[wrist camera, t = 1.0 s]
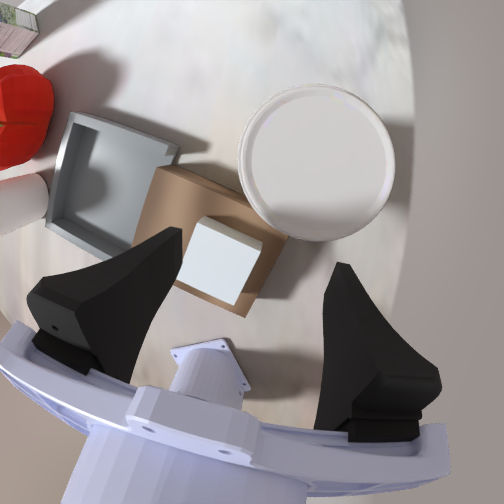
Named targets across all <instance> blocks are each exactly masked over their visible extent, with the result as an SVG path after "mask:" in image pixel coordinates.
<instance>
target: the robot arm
mask: <svg viewBox="0 0 504 504" xmlns="http://www.w3.org/2000/svg"><path fill="white" fill-rule="evenodd" d="M182 264H183V249H182V228H177V227H172V226H170V227H168V228H166V229H164V230H162V231H161V232H159V233H157V234H156V235H154V236H152V237H150V238H149V239H147V240H145V241H144V242H142V243H140V244H138V245H136V246H135V247H133V248H131V249H129V250H127V251H125V252H123V253H121V254H119V255H117V256H115V257H113V258H110V259H108V260H106V261H103V262H101V263H98V264H95V265H92V266H89V267H86V268H83V269H80V270H76V271H72V272H68V273H64V274H59V275H53V276H47V277H43V278H42V279H41V280H40V281H39V282H38V283H37V285H36V286H35V287H34V288H33V289H32V290H31V291H30V293H29V294H28V295H27V304H28V307H29V309H30V311H31V313H32V315H33V317H34V319H35V320H36V322H37V324H38V326H39V328H40V329H39V331H38V332H37V333H36V332H35V331H34V330H33V329H31V328H30V327H28V326H27V325H25V324H23V323H22V322H20V321H18V320H17V321H16V322H15V323H14V325H13V326H12V327H11V329H10V330H9V331H8V333H7V334H6V336H5V337H4V338H3V340H2V341H1V343H0V371H1V372H2V373H3V374H4V376H5V377H6V378H7V379H8V380H9V381H10V382H11V383H12V384H13V385H14V386H15V387H16V388H17V389H18V390H20V391H21V392H22V393H24V394H25V395H27V396H28V397H29V398H30V399H32V400H33V401H35V402H36V403H37V404H39V405H40V406H41V407H43V408H44V409H46V410H47V411H49V412H50V413H52V414H53V415H54V416H56V417H58V418H59V419H60V420H62V421H64V422H65V423H67V424H68V425H70V426H71V427H73V428H75V429H77V430H78V431H80V432H81V433H83V434H85V435H87V436H88V438H87V440H86V443H85V445H84V447H83V449H82V452H81V454H80V457H79V459H78V461H77V463H76V466H75V468H74V471H73V473H72V475H71V478H70V480H69V483H68V486H67V488H66V491H65V493H64V496H63V498H62V501H61V504H306V498H307V497H337V496H354V495H367V494H376V493H384V492H392V491H399V490H406V489H411V488H416V487H419V486H422V485H425V484H427V483H430V482H433V481H435V480H438V479H440V478H442V477H445V476H447V475H449V474H450V473H451V470H450V456H449V445H448V436H447V429H446V423H436V424H425V425H422V426H419V421H418V420H420V419H421V418H422V411H421V410H422V409H424V408H425V407H426V406H427V405H429V404H430V403H431V402H432V401H433V400H435V399H436V398H437V397H438V396H439V394H440V392H441V391H442V384H441V379H440V375H439V371H438V368H437V367H436V366H434V365H433V364H432V363H430V362H429V361H428V360H426V359H425V358H424V357H422V356H421V355H420V354H419V353H418V352H416V351H415V350H414V349H413V348H412V347H411V346H410V345H409V344H408V343H407V342H406V341H405V340H404V339H403V338H402V337H401V336H400V335H399V334H398V333H397V332H396V331H395V330H394V329H393V328H392V326H391V325H390V324H389V323H388V322H387V320H386V319H385V318H384V317H383V315H382V314H381V313H380V311H379V310H378V309H377V307H376V306H375V304H374V303H373V301H372V300H371V298H370V297H369V295H368V294H367V292H366V291H365V289H364V287H363V286H362V284H361V282H360V281H359V279H358V277H357V276H356V274H355V272H354V271H353V269H352V267H351V266H350V264H345V263H341V262H337V263H336V266H335V268H334V271H333V274H332V276H331V279H330V281H329V284H328V286H327V289H326V291H325V293H324V302H323V336H324V365H323V375H322V383H321V391H320V398H319V404H318V409H317V415H316V420H315V424H314V429H304V428H296V427H289V426H282V425H275V424H269V423H264V422H260V421H259V420H258V418H256V417H254V416H253V415H251V414H249V413H247V412H244V411H241V409H242V403H243V397H244V392H246V391H250V390H251V386H250V385H249V383H248V381H247V379H246V377H245V376H244V374H243V372H242V370H241V368H240V366H239V365H238V363H237V361H236V359H235V357H234V355H233V353H232V352H231V350H230V348H229V346H228V344H227V342H226V341H225V340H224V339H217V340H213V341H208V342H203V343H198V344H194V345H189V346H183V347H178V348H173V349H171V351H170V353H171V355H172V356H173V358H174V359H175V361H176V362H177V364H178V366H179V368H178V370H177V372H176V375H175V377H174V379H173V381H172V384H171V386H170V388H169V390H166V389H163V388H159V387H155V386H151V385H148V386H142V387H138V388H137V387H135V386H132V385H129V384H130V380H131V377H132V373H133V370H134V367H135V364H136V361H137V358H138V355H139V352H140V349H141V347H142V344H143V341H144V339H145V336H146V334H147V331H148V329H149V327H150V324H151V322H152V320H153V318H154V316H155V314H156V313H157V311H158V309H159V307H160V306H161V304H162V302H163V301H164V299H165V297H166V296H167V294H168V292H169V291H170V289H171V287H172V285H173V284H174V282H175V280H176V278H177V276H178V273H179V271H180V269H181V266H182ZM222 345H225V346H222ZM175 354H176V355H175ZM244 383H245V384H244Z"/></svg>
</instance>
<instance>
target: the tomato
mask: <svg viewBox="0 0 504 504" xmlns="http://www.w3.org/2000/svg"><path fill="white" fill-rule="evenodd" d="M53 107H54V93H53V88H52V84H51V81H49V80H48V79H46V78H45V77H44V76H42V75H41V74H40V73H39V72H38V71H37V70H35V69H34V68H33V67H30V66H26V65H17V64H13V65H8V66H4V67H1V68H0V171H2V170H5V169H8V168H10V167H12V166H16V165H20V164H23V163H25V162H27V161H29V160H30V159H31V158H32V157H33V156H34V155H35V154H36V153H37V152H38V150H39V149H40V148H41V146H42V144H43V142H44V140H45V138H46V133H47V128H48V125H49V122H50V119H51V116H52V113H53Z"/></svg>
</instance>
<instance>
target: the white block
mask: <svg viewBox="0 0 504 504" xmlns="http://www.w3.org/2000/svg"><path fill="white" fill-rule="evenodd" d="M262 243H263V242H261V241H259V240H257V239H255V238H252V237H250V236H248V235H246V234H244V233H242V232H239V231H237V230H235V229H233V228H231V227H229V226H226V225H224V224H222V223H220V222H218V221H215V220H213V219H211V218H209V217H207V216H204V217H203V218H201V219H200V220H199V221H198V222H197V224H196V227H195V229H194V232H193V234H192V237H191V239H190V242H189V245H188V247H187V250H186V252H185V255H184V258H183V264H182V266H181V269H180V271H179V273H178V276H177V278H176V279H177V280H179V281H181V282H183V283H185V284H187V285H190V286H192V287H194V288H196V289H198V290H200V291H202V292H205V293H207V294H209V295H211V296H213V297H215V298H218V299H220V300H222V301H224V302H227V303H229V304H231V305H233V306H234V304H235V302H236V300H237V298H238V296H239V294H240V292H241V290H242V288H243V286H244V284H245V282H246V280H247V278H248V276H249V274H250V272H251V270H252V268H253V267H254V265H255V263H256V261H257V259H258V257H259V255H260V253H261V249H262Z"/></svg>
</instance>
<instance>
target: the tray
mask: <svg viewBox="0 0 504 504" xmlns="http://www.w3.org/2000/svg"><path fill="white" fill-rule="evenodd" d="M178 149H179V146H178V145H176V144H173V143H171V142H168V141H166V140H163V139H160V138H158V137H155V136H152V135H150V134H147V133H144V132H141V131H139V130H136V129H133V128H130V127H127V126H125V125H122V124H119V123H116V122H113V121H110V120H107V119H104V118H101V117H98V116H95V115H92V114H88V113H83V112H72V111H70V114H69V117H68V120H67V124H66V127H65V130H64V134H63V137H62V141H61V145H60V149H59V152H58V157H57V161H56V165H55V170H54V174H53V179H52V184H51V190H50V195H49V201H48V208H47V215H46V223H45V227H47V228H48V229H50V230H52V231H53V232H55V233H56V234H58V235H60V236H61V237H63V238H65V239H66V240H68V241H70V242H71V243H73V244H75V245H76V246H78V247H80V248H82V249H83V250H85V251H87V252H89V253H90V254H92V255H94V256H96V257H97V258H99V259H101V260H103V261H106V260H108V259H110V258H113V257H115V256H117V255H119V254H121V253H123V252H125V251H127V250H129V249H131V246H132V242H133V239H134V235H135V232H136V228H137V225H138V221H139V218H140V215H141V211H142V208H143V205H144V202H145V199H146V196H147V193H148V190H149V187H150V184H151V181H152V178H153V175H154V172H155V170H156V167H159V166H165V165H171V164H173V161H174V159H175V156H176V154H177V151H178Z"/></svg>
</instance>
